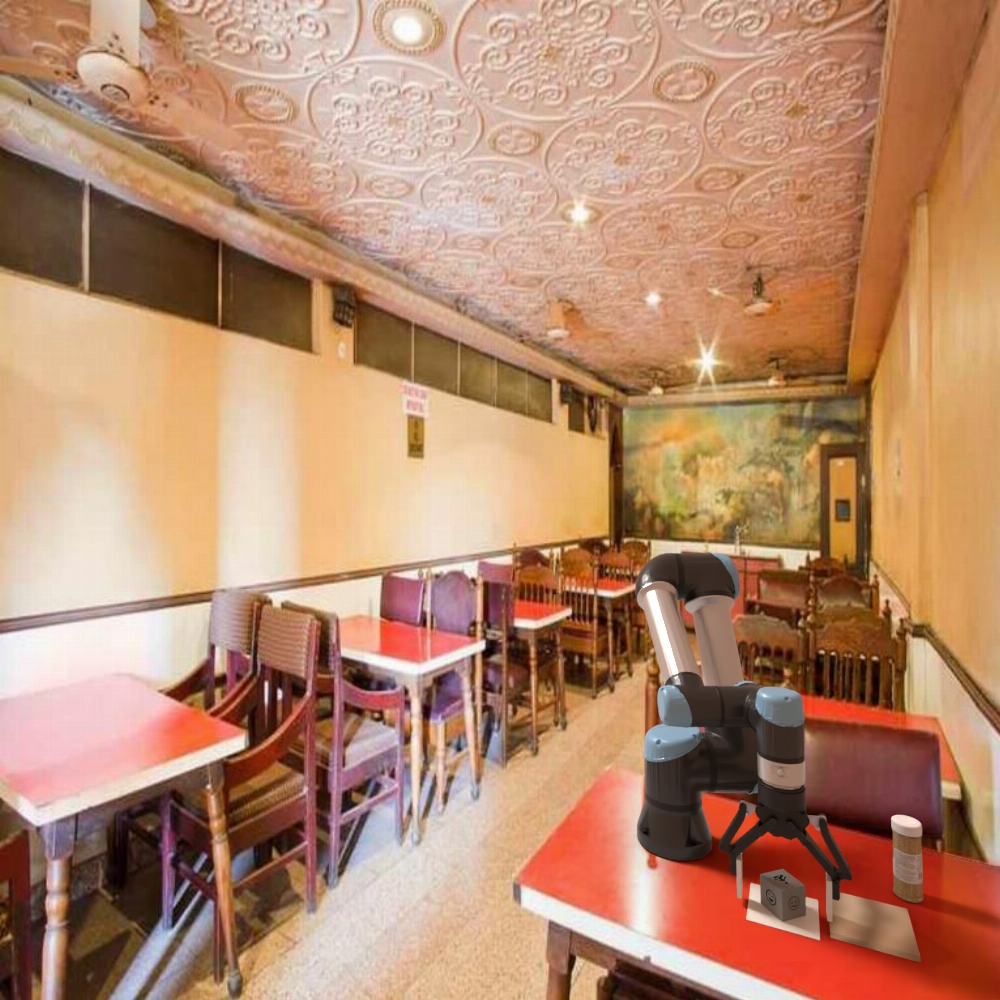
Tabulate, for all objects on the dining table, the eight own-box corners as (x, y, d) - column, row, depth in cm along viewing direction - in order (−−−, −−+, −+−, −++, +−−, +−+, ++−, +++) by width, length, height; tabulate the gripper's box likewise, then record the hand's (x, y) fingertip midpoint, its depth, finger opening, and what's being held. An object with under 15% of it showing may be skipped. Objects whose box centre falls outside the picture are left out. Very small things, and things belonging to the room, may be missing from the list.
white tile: (746, 919, 99) (746, 919, 99) (750, 883, 109) (750, 882, 109) (820, 940, 94) (820, 939, 94) (817, 900, 104) (817, 899, 104)
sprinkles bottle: (902, 885, 108) (900, 811, 108) (929, 899, 104) (927, 822, 104) (887, 892, 106) (885, 817, 106) (914, 907, 102) (912, 829, 102)
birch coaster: (830, 937, 95) (830, 931, 95) (827, 894, 106) (826, 889, 106) (920, 962, 89) (920, 956, 89) (907, 914, 100) (907, 908, 100)
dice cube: (783, 897, 105) (782, 868, 105) (805, 915, 100) (805, 885, 100) (760, 903, 103) (760, 874, 103) (782, 921, 98) (781, 891, 99)
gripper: (702, 775, 104) (703, 897, 103) (869, 805, 93) (872, 941, 92) (707, 760, 111) (708, 874, 110) (863, 786, 100) (866, 913, 99)
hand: (783, 906), depth 101 cm, fingers open, 13 cm apart
